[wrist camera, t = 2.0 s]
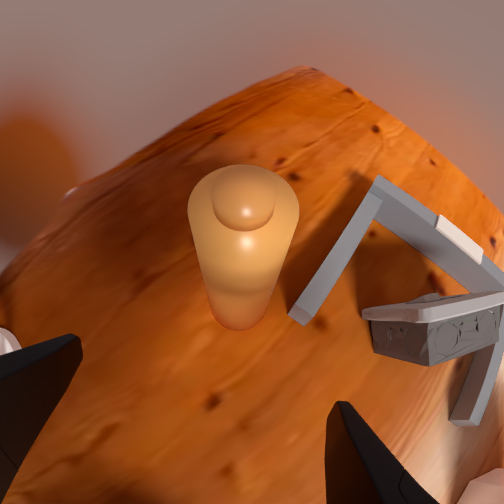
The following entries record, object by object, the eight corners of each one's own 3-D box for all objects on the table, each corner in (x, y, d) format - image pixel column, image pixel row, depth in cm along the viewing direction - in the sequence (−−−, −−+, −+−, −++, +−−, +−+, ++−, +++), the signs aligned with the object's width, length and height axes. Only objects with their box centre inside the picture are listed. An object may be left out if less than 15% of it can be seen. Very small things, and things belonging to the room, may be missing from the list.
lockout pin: (272, 323, 23) (321, 229, 10) (216, 335, 22) (192, 253, 9) (258, 272, 24) (284, 142, 12) (206, 283, 24) (179, 157, 11)
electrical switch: (438, 298, 24) (505, 267, 16) (446, 350, 22) (517, 335, 14) (356, 310, 23) (417, 279, 15) (363, 370, 22) (430, 369, 13)
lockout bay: (457, 426, 18) (488, 425, 14) (287, 314, 23) (298, 297, 19) (497, 301, 24) (522, 287, 20) (364, 198, 29) (379, 171, 25)
